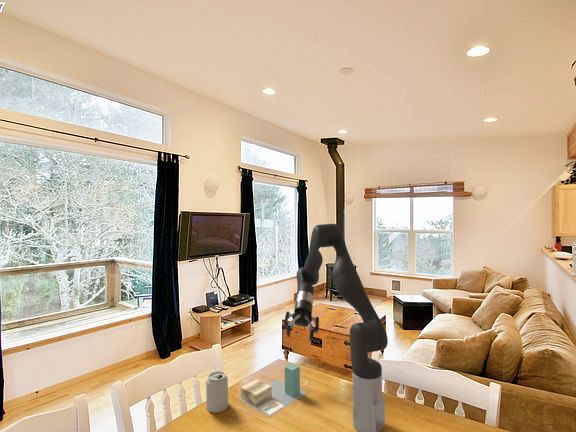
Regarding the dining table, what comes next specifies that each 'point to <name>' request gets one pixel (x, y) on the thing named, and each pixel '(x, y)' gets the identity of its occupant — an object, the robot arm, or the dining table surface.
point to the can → (217, 392)
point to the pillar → (292, 380)
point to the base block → (256, 392)
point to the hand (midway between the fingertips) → (299, 337)
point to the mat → (275, 399)
